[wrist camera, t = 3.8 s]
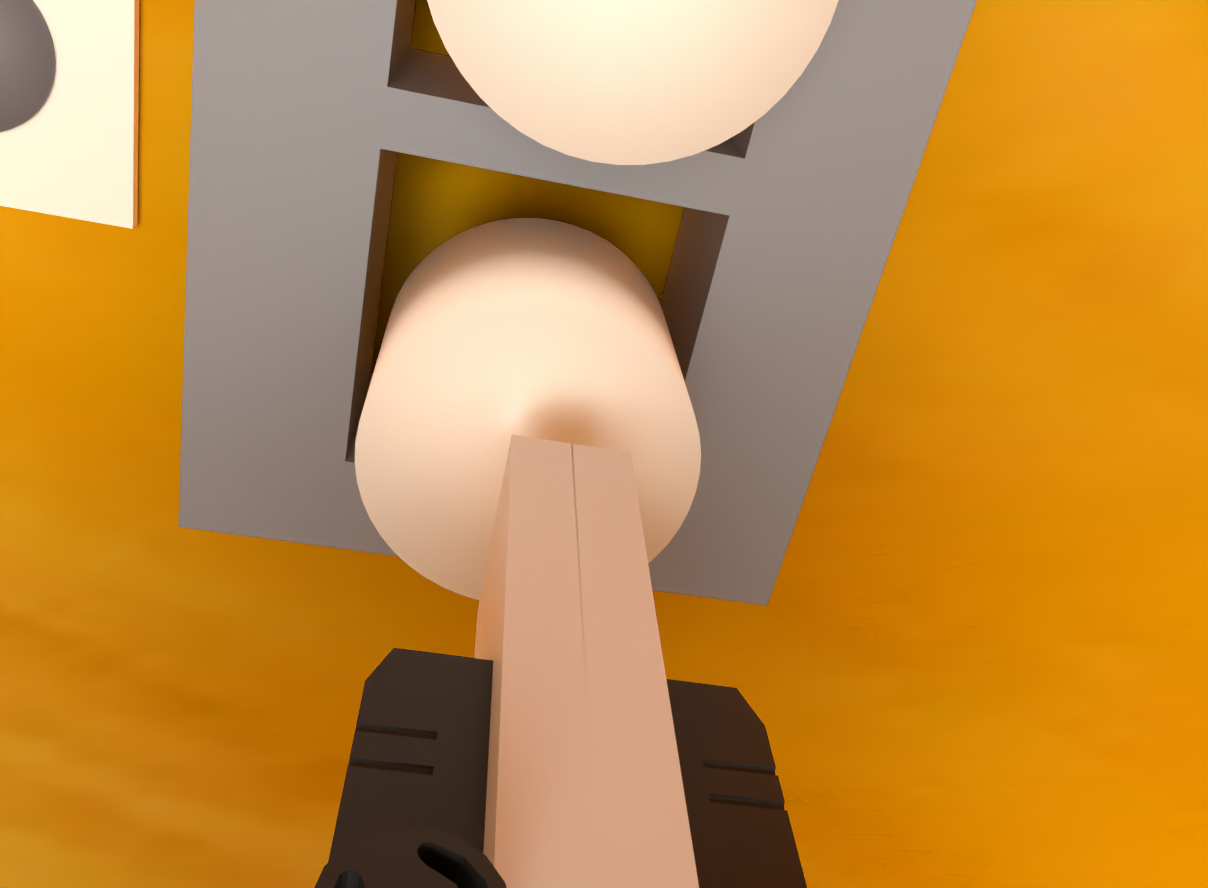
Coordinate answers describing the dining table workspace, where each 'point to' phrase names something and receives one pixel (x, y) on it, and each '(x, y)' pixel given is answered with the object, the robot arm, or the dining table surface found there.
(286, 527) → the gray compartment tray
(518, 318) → the button
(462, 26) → the button mid
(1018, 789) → the dining table surface
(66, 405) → the dining table surface
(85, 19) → the card
